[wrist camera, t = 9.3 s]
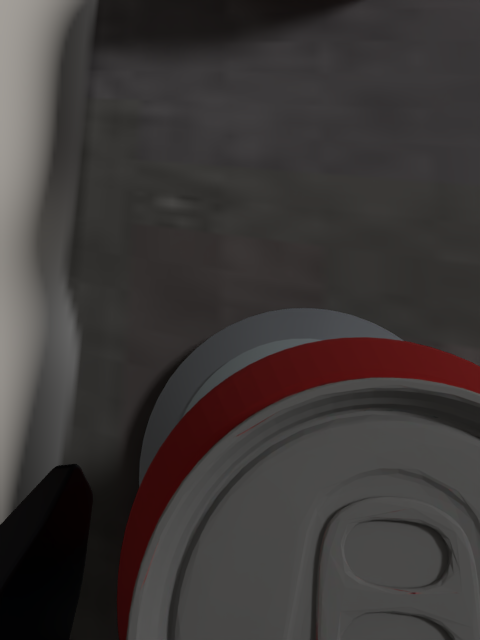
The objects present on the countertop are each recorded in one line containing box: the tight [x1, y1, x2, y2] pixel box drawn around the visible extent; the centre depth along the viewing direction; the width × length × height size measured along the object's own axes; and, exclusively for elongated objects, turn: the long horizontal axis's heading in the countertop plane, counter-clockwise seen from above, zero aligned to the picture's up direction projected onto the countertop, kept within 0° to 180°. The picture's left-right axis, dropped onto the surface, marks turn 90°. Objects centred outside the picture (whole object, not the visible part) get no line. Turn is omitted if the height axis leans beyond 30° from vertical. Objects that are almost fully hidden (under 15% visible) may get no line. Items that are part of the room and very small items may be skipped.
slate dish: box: [139, 308, 403, 487], centre depth 17 cm, size 12×12×1 cm
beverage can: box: [117, 337, 480, 640], centre depth 10 cm, size 7×7×12 cm
